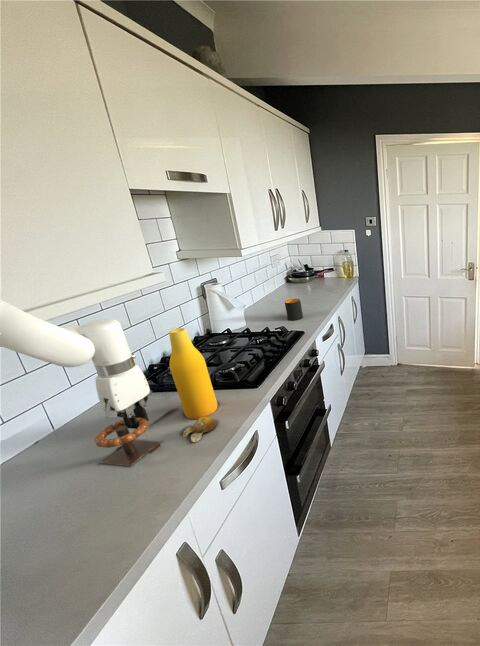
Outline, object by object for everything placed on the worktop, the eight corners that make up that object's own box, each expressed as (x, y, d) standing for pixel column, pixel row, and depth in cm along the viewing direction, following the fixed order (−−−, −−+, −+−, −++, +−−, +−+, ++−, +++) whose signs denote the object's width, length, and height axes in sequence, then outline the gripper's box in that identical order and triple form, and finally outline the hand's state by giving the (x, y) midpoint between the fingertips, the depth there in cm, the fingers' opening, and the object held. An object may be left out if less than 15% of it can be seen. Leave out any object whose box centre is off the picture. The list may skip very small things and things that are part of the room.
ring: (84, 447, 89) (81, 440, 88) (125, 420, 99) (123, 414, 98) (121, 450, 87) (118, 444, 87) (159, 423, 97) (157, 417, 97)
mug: (302, 313, 206) (300, 296, 203) (303, 319, 196) (300, 302, 192) (288, 315, 204) (285, 298, 200) (287, 321, 193) (284, 303, 189)
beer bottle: (187, 408, 116) (161, 328, 106) (218, 400, 120) (196, 322, 110) (184, 423, 109) (155, 338, 98) (217, 414, 113) (193, 332, 102)
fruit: (180, 434, 104) (176, 424, 102) (209, 419, 110) (206, 410, 109) (193, 444, 99) (190, 434, 98) (222, 428, 106) (219, 418, 104)
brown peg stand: (102, 466, 92) (88, 438, 89) (133, 443, 100) (122, 416, 97) (131, 469, 91) (119, 440, 88) (160, 445, 99) (150, 418, 96)
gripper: (132, 352, 99) (151, 407, 105) (70, 380, 84) (97, 442, 90) (155, 353, 98) (173, 408, 104) (96, 382, 83) (122, 444, 89)
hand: (138, 424), depth 97 cm, fingers closed on ring, 2 cm apart
